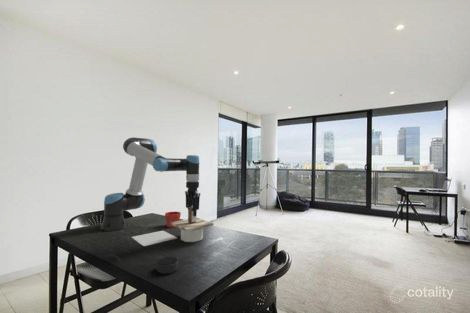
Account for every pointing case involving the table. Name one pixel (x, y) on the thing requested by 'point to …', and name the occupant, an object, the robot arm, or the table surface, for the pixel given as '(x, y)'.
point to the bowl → (192, 235)
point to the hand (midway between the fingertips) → (192, 220)
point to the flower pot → (172, 218)
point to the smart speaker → (167, 265)
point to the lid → (188, 223)
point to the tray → (153, 238)
